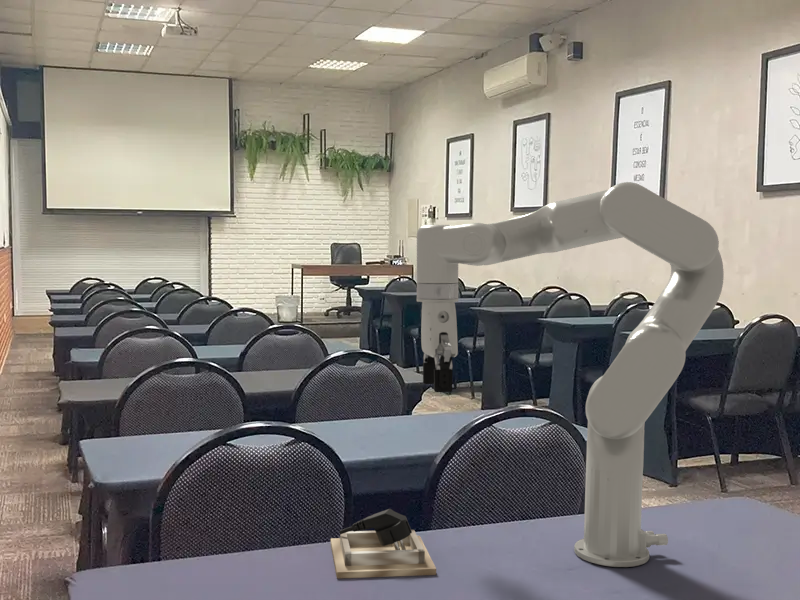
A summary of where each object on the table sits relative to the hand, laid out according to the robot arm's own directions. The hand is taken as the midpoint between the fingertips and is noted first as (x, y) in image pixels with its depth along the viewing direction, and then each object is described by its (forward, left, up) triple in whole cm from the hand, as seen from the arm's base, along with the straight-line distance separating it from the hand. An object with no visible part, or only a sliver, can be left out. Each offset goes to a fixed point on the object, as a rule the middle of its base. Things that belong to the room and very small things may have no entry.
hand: (437, 387), depth 154 cm
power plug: (+13, +10, -25) cm, 30 cm away
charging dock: (+11, +11, -27) cm, 31 cm away
